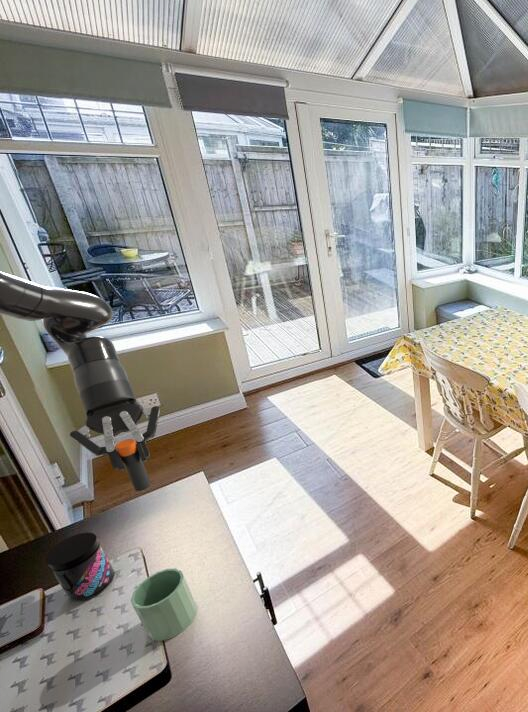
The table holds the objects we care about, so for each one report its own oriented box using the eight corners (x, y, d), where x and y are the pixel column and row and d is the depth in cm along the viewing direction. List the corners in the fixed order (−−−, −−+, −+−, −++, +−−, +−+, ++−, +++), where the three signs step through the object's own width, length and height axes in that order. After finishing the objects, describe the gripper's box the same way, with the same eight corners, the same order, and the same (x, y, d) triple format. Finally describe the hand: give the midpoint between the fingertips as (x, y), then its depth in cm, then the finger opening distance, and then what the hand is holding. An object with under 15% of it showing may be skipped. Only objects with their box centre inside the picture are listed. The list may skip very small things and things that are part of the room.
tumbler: (143, 648, 70) (125, 615, 66) (154, 610, 76) (137, 577, 72) (193, 629, 73) (178, 597, 69) (199, 594, 79) (186, 562, 75)
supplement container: (69, 611, 75) (44, 572, 71) (67, 585, 79) (44, 547, 75) (118, 586, 79) (98, 548, 75) (114, 562, 84) (95, 526, 79)
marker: (132, 493, 82) (113, 449, 78) (136, 483, 85) (117, 441, 80) (150, 489, 84) (132, 445, 79) (153, 479, 86) (136, 437, 81)
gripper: (49, 394, 75) (79, 480, 73) (147, 369, 84) (177, 445, 82) (59, 406, 81) (88, 487, 78) (150, 381, 90) (178, 452, 87)
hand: (133, 465), depth 80 cm, fingers closed on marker, 2 cm apart
